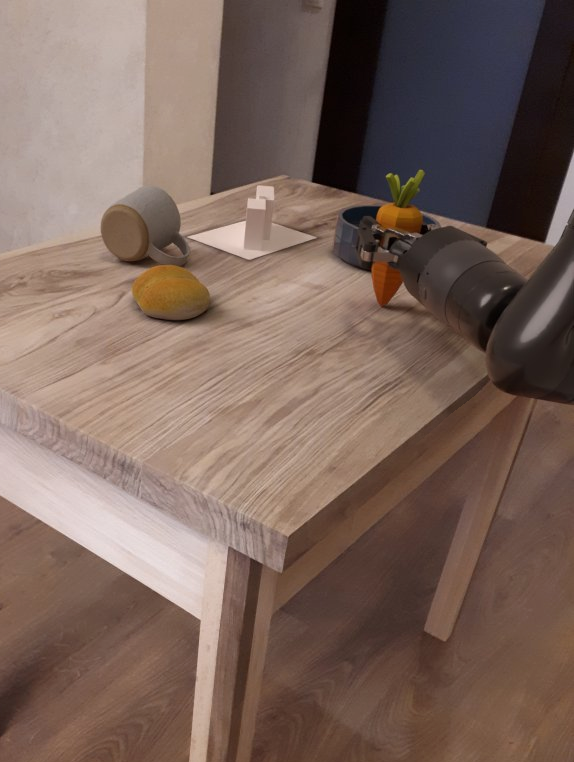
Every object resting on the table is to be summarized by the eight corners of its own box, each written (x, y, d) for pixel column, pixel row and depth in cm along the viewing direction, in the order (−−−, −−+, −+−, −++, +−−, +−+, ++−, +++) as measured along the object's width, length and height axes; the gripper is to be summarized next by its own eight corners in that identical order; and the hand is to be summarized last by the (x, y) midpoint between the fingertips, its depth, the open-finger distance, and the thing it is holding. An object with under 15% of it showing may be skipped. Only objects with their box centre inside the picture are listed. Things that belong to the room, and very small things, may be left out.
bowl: (386, 237, 113) (394, 201, 110) (453, 268, 104) (462, 230, 101) (312, 247, 107) (317, 209, 104) (375, 281, 98) (383, 241, 95)
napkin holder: (255, 217, 117) (259, 176, 113) (318, 237, 111) (324, 195, 108) (185, 237, 108) (188, 193, 104) (250, 260, 102) (254, 214, 98)
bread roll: (148, 326, 83) (149, 289, 81) (125, 294, 90) (125, 259, 88) (221, 319, 86) (224, 283, 84) (193, 288, 93) (195, 254, 90)
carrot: (355, 309, 91) (381, 170, 82) (365, 295, 94) (390, 161, 86) (399, 317, 89) (429, 178, 80) (406, 303, 93) (436, 168, 84)
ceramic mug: (95, 257, 99) (95, 193, 94) (129, 239, 105) (130, 179, 100) (170, 277, 96) (174, 212, 91) (201, 258, 102) (205, 196, 97)
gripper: (536, 240, 75) (453, 190, 88) (396, 241, 72) (331, 189, 85) (513, 315, 79) (437, 256, 93) (380, 319, 76) (321, 258, 90)
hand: (387, 225), depth 89 cm, fingers closed on carrot, 5 cm apart
